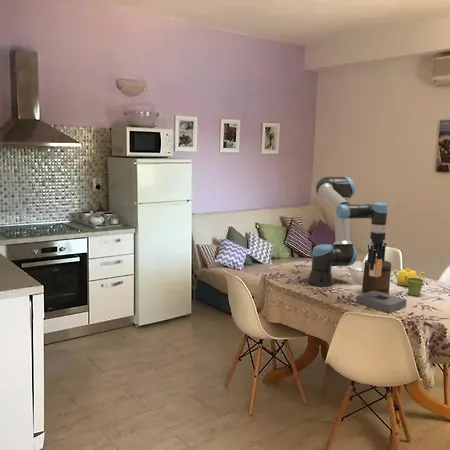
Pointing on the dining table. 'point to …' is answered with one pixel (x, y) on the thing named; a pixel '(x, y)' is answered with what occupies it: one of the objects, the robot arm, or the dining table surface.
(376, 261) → the orange plug
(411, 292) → the plant pot
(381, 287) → the wooden container
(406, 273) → the teapot
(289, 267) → the dining table surface
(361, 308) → the dining table surface
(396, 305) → the socket board
